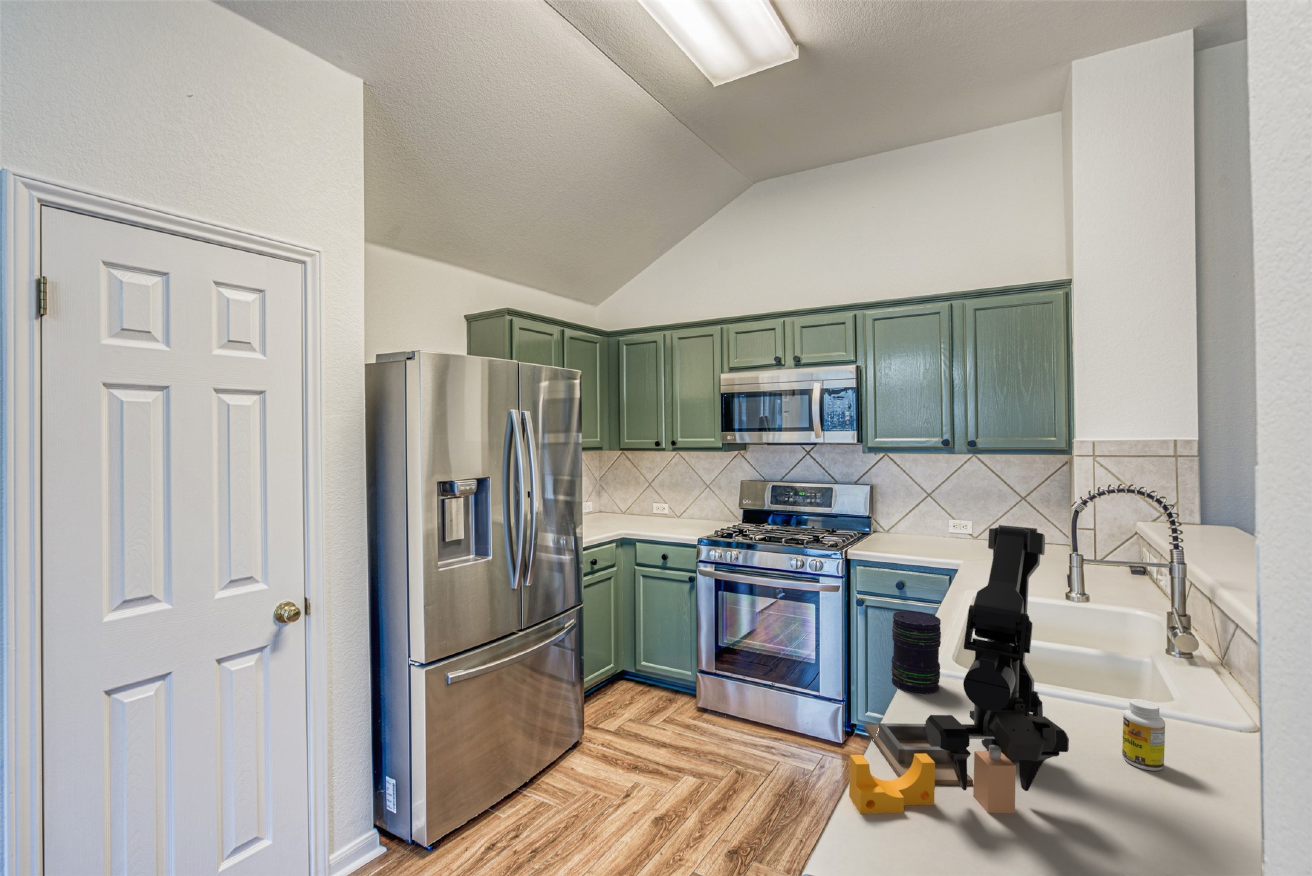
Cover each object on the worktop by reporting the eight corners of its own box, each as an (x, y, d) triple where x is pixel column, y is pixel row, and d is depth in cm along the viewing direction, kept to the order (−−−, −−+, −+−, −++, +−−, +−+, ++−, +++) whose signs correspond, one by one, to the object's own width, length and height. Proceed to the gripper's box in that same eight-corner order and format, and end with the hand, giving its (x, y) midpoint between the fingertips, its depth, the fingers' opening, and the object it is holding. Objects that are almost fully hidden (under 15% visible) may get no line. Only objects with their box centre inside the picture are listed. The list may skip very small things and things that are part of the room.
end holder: (922, 729, 115) (923, 712, 115) (972, 784, 97) (973, 764, 97) (864, 728, 115) (864, 711, 115) (903, 784, 97) (903, 764, 97)
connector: (999, 796, 94) (1000, 740, 94) (1014, 813, 90) (1016, 754, 90) (973, 796, 94) (974, 740, 94) (987, 812, 90) (988, 754, 90)
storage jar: (934, 678, 139) (936, 612, 139) (944, 697, 130) (946, 626, 129) (888, 674, 142) (889, 609, 141) (894, 691, 132) (895, 622, 132)
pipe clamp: (860, 814, 90) (861, 770, 90) (849, 797, 94) (849, 754, 94) (940, 812, 90) (941, 768, 90) (925, 795, 95) (926, 753, 95)
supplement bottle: (1113, 754, 107) (1115, 696, 107) (1145, 754, 107) (1146, 696, 107) (1140, 772, 102) (1141, 711, 101) (1172, 772, 102) (1174, 710, 102)
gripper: (960, 709, 84) (958, 822, 84) (1097, 711, 84) (1094, 824, 84) (924, 676, 95) (922, 776, 95) (1045, 678, 95) (1043, 778, 95)
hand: (993, 789), depth 92 cm, fingers open, 9 cm apart
